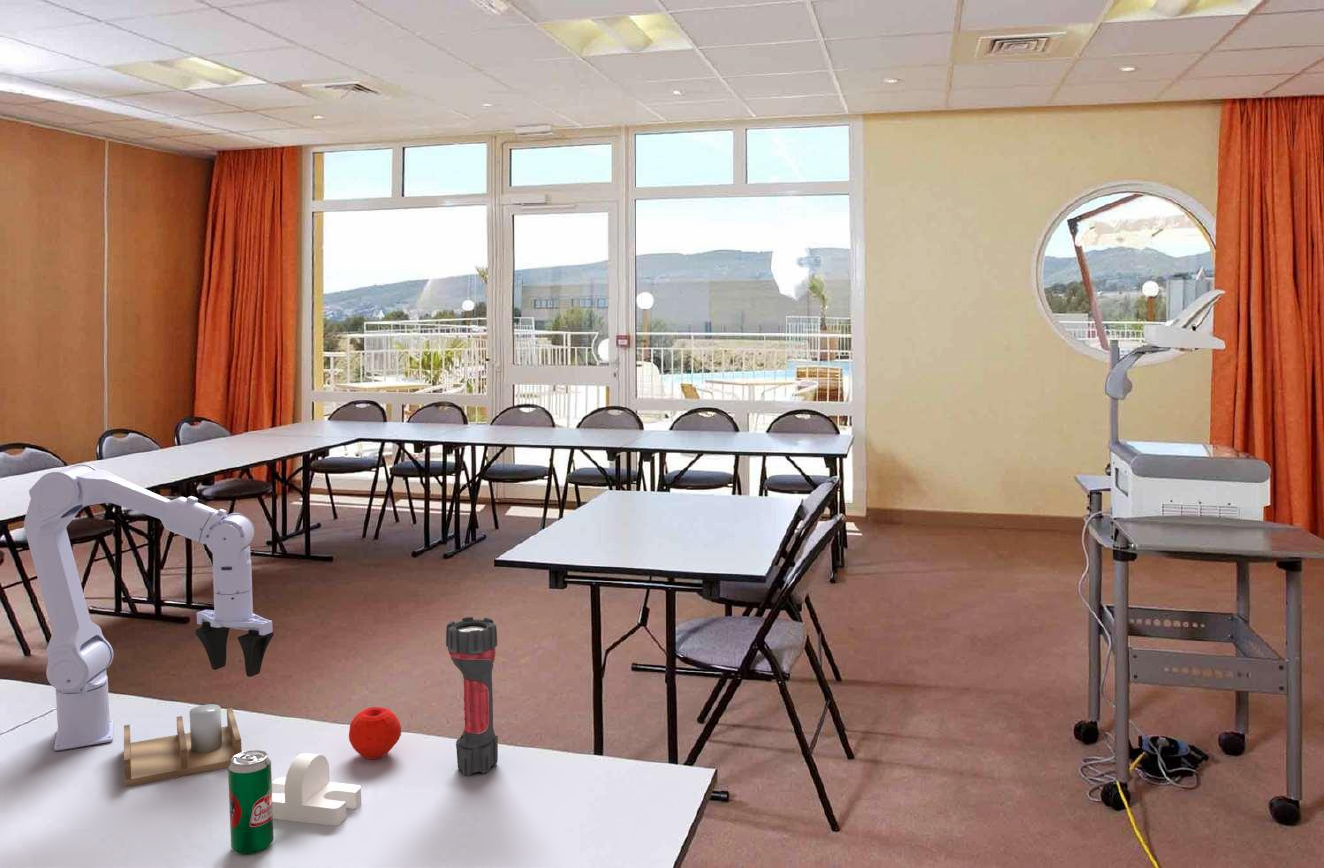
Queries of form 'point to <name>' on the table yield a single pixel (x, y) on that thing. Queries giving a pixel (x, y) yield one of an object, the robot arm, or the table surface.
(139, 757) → the rack
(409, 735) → the table surface
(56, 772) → the table surface
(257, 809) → the soda can
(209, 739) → the cylinder
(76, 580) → the robot arm
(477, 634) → the flashlight
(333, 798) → the slotted bracket
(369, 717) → the apple
